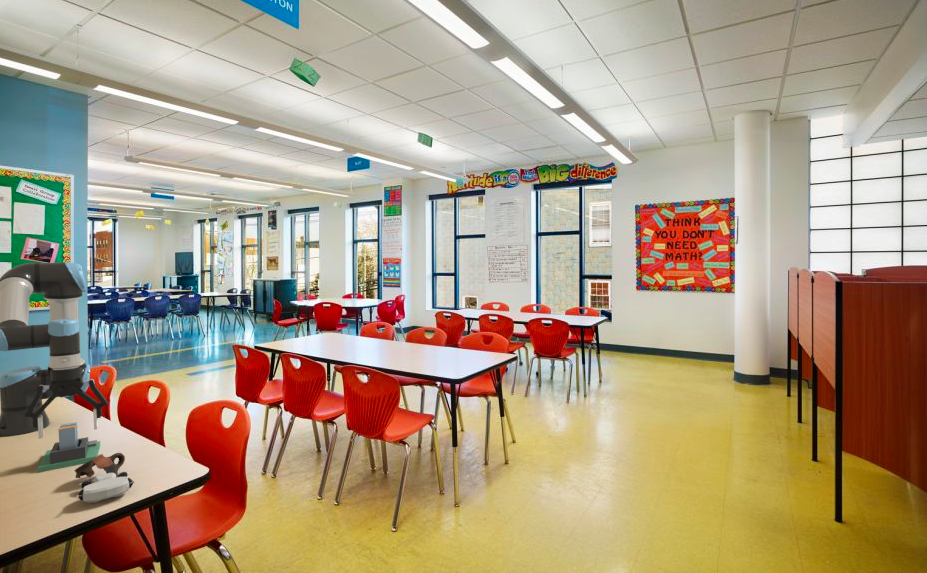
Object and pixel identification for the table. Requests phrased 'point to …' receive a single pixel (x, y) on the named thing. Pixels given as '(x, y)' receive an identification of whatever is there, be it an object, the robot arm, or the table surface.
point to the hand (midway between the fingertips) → (69, 432)
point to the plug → (68, 436)
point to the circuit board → (69, 455)
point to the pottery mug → (101, 465)
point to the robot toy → (105, 487)
